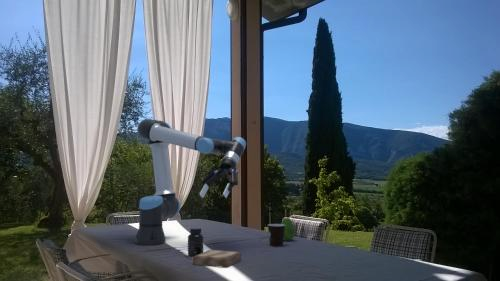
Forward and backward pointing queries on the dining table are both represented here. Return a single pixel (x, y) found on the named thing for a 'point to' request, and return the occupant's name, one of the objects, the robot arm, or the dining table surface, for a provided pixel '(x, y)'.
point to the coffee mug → (276, 234)
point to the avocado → (288, 229)
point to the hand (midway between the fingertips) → (212, 196)
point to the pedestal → (217, 258)
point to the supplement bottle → (195, 242)
